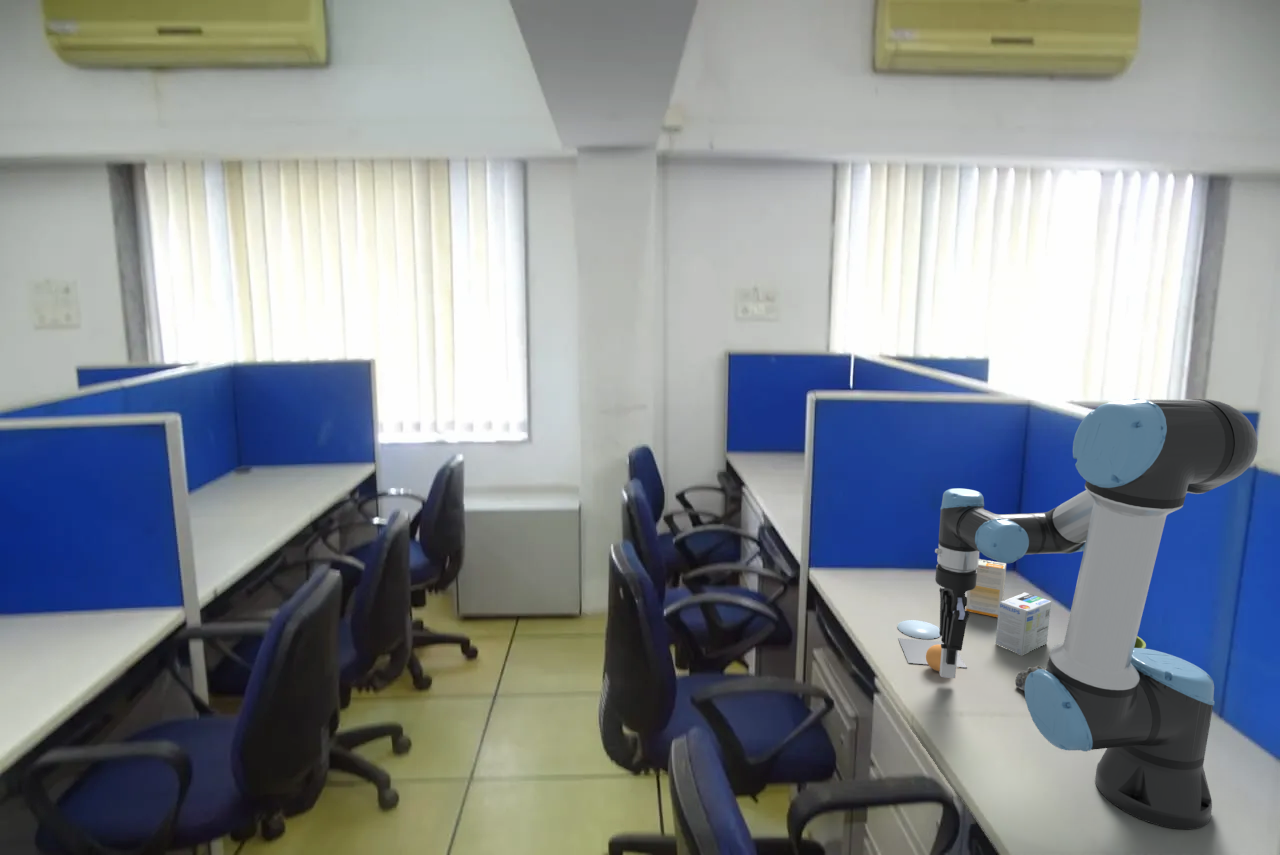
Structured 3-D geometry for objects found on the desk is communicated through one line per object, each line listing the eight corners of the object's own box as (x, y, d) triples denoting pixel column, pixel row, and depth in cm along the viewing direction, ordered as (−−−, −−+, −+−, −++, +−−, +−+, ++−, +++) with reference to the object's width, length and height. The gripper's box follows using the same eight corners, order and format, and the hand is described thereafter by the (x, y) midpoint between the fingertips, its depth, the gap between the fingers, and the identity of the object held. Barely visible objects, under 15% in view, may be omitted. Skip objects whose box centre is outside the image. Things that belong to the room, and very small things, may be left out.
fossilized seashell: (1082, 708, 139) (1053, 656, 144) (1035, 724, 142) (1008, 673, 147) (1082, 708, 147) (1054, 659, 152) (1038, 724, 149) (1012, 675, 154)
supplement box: (1002, 612, 186) (1007, 563, 184) (1000, 618, 182) (1005, 568, 180) (967, 604, 191) (972, 556, 189) (964, 611, 187) (969, 562, 185)
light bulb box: (1019, 633, 174) (1024, 590, 172) (1048, 645, 169) (1053, 600, 167) (993, 645, 168) (998, 600, 167) (1022, 656, 163) (1027, 611, 161)
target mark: (966, 668, 157) (966, 667, 157) (908, 663, 159) (908, 662, 159) (952, 643, 169) (952, 642, 169) (898, 639, 171) (898, 638, 171)
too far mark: (946, 640, 170) (946, 640, 170) (901, 637, 172) (901, 636, 172) (936, 622, 180) (936, 621, 180) (894, 619, 181) (894, 618, 181)
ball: (950, 641, 158) (948, 665, 159) (923, 639, 159) (922, 663, 159) (958, 651, 153) (956, 677, 153) (930, 650, 153) (928, 675, 154)
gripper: (929, 554, 153) (921, 659, 157) (945, 576, 140) (935, 690, 144) (967, 556, 152) (958, 662, 156) (986, 579, 139) (975, 694, 143)
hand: (947, 675), depth 150 cm, fingers closed
